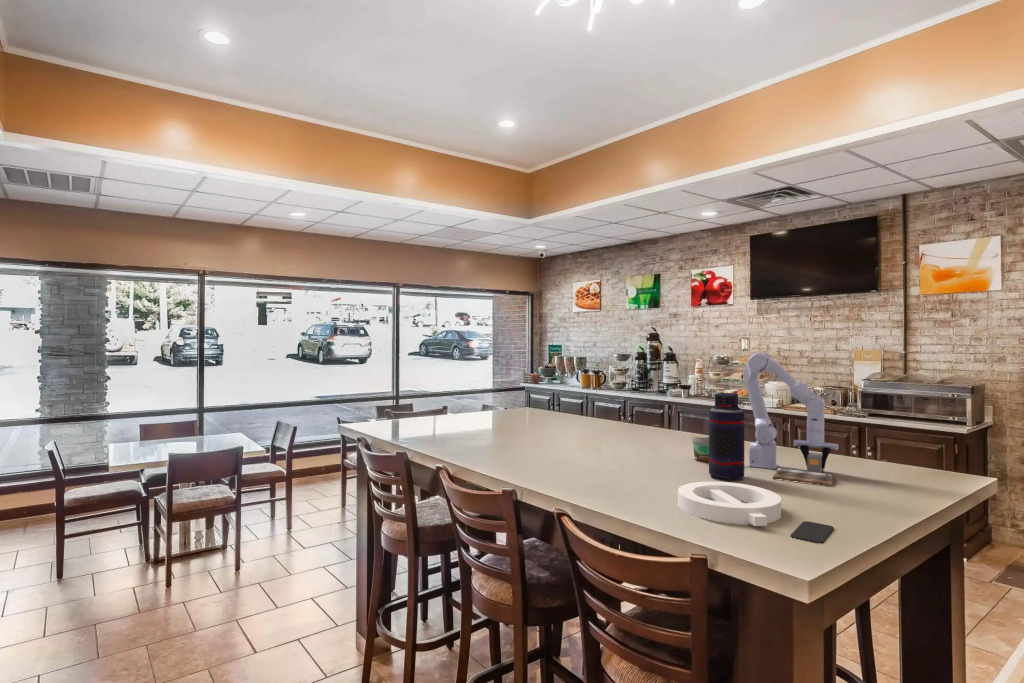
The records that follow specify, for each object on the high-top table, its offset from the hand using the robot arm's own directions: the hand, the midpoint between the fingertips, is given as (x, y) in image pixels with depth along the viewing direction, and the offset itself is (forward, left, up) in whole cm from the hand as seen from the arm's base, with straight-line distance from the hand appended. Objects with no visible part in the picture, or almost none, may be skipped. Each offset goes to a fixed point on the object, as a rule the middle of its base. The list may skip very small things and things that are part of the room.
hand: (815, 467), depth 210 cm
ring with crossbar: (-15, -65, -2) cm, 67 cm away
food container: (-38, -5, -2) cm, 38 cm away
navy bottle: (-25, -26, -2) cm, 36 cm away
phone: (+8, -74, -2) cm, 74 cm away
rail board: (-2, -14, -2) cm, 14 cm away
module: (0, 0, -2) cm, 2 cm away
